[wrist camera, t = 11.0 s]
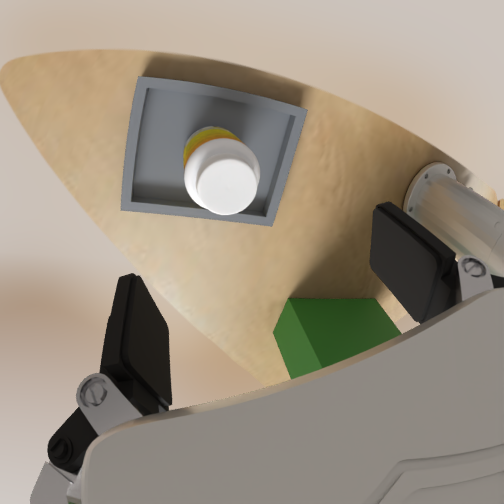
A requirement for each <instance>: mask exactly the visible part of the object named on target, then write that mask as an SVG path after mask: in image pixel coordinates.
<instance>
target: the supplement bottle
mask: <svg viewBox="0 0 504 504" xmlns="http://www.w3.org/2000/svg"><path fill="white" fill-rule="evenodd" d="M183 166H184V181H185V186H186V189H187V191H188V193H189V195H190V197H191V198H192V199H193V200H194V201H195V202H196V203H197V204H198V205H200V206H202V207H204V208H206V209H208V210H209V211H211V212H213V213H216V214H220V215H231V214H235V213H238V212H240V211H242V210H244V209H245V208H246V207H247V206H248V205H249V204H250V203H251V202H252V201H253V199H254V197H255V195H256V192H257V186H258V184H259V179H260V167H259V163H258V160H257V158H256V156H255V155H254V153H253V152H252V151H251V150H250V149H249V148H248V147H247V146H246V145H245V144H244V143H243V142H242V141H241V140H240V139H239V138H237V137H236V136H235V135H234V134H233V133H232V132H230V131H229V130H227V129H225V128H222V127H218V126H209V127H204V128H202V129H199V130H198V131H196V132H195V133H193V134H192V135H191V136H190V138H189V139H188V140H187V142H186V144H185V147H184V151H183Z"/></svg>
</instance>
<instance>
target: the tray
mask: <svg viewBox="0 0 504 504" xmlns="http://www.w3.org/2000/svg"><path fill="white" fill-rule="evenodd" d="M307 111H308V110H307V109H304V108H301V107H297V106H294V105H291V104H287V103H284V102H280V101H277V100H273V99H270V98H266V97H262V96H258V95H254V94H250V93H246V92H241V91H237V90H232V89H227V88H222V87H217V86H211V85H206V84H200V83H193V82H187V81H179V80H171V79H162V78H152V77H140V76H138V79H137V84H136V89H135V94H134V99H133V104H132V110H131V116H130V122H129V128H128V135H127V143H126V151H125V160H124V169H123V181H122V195H121V210H122V211H133V212H144V213H155V214H165V215H175V216H185V217H194V218H204V219H213V220H222V221H230V222H239V223H247V224H256V225H264V226H273V223H274V219H275V216H276V213H277V210H278V206H279V203H280V200H281V197H282V193H283V190H284V187H285V184H286V180H287V177H288V174H289V171H290V167H291V164H292V161H293V157H294V154H295V151H296V147H297V144H298V141H299V137H300V134H301V131H302V127H303V124H304V121H305V117H306V114H307ZM209 126H218V127H222V128H225V129H227V130H229V131H230V132H232V133H233V134H234V135H235V136H236V137H237V138H239V139H240V140H241V141H242V142H243V143H244V144H245V145H246V146H247V147H248V148H249V149H250V150H251V151H252V152H253V153H254V155H255V156H256V158H257V160H258V163H259V167H260V179H259V184H258V186H257V192H256V195H255V197H254V199H253V201H252V202H251V203H250V204H249V205H248V206H247V207H246V208H245V209H244V210H242V211H240V212H238V213H235V214H231V215H220V214H216V213H213V212H211V211H209V210H208V209H206V208H204V207H202V206H200V205H198V204H197V203H196V202H195V201H194V200H193V199H192V198H191V197H190V195H189V193H188V191H187V189H186V186H185V181H184V166H183V151H184V147H185V144H186V142H187V140H188V139H189V138H190V136H191V135H192V134H193V133H195V132H196V131H198V130H199V129H202V128H204V127H209Z"/></svg>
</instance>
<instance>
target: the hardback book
mask: <svg viewBox="0 0 504 504" xmlns="http://www.w3.org/2000/svg"><path fill="white" fill-rule="evenodd" d="M273 334H274V337H275V339H276V342H277V344H278V347H279V349H280V352H281V354H282V357H283V360H284V362H285V365H286V367H287V370H288V372H289V375H290V377H291V379H294V378H297V377H300V376H303V375H306V374H309V373H312V372H314V371H317V370H320V369H322V368H325V367H328V366H330V365H333V364H336V363H338V362H341V361H343V360H346V359H348V358H350V357H353V356H355V355H358V354H360V353H362V352H365V351H367V350H369V349H371V348H374V347H376V346H378V345H380V344H382V343H384V342H387V341H389V340H391V339H393V338H395V337H397V336H399V335H401V332H400V331H399V330H398V328H397V327H396V326H395V324H394V323H393V321H392V320H391V319H390V317H389V316H388V315H387V314H386V312H385V311H384V310H383V308H382V307H381V306H380V304H379V303H378V302H377V301H376V299H375V298H374V299H305V298H288V300H287V302H286V304H285V306H284V309H283V311H282V313H281V316H280V318H279V320H278V322H277V325H276V327H275V329H274V331H273Z"/></svg>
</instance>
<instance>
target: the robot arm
mask: <svg viewBox="0 0 504 504" xmlns="http://www.w3.org/2000/svg"><path fill="white" fill-rule="evenodd" d="M455 257H456V258H457V259H458V262H457V261H456V260H455ZM370 266H371V269H372V270H373V271H374V272H375V273H376V275H377V276H378V277H379V278H380V279H381V280H382V282H383V283H384V284H385V285H386V286H387V287H388V289H389V290H390V291H391V292H392V293H393V295H394V296H395V297H396V298H397V299H398V301H399V302H400V303H401V304H402V306H403V307H404V308H405V309H406V311H407V312H408V313H409V314H410V316H411V317H412V318H413V319H414V320H415V321H416V322H419V323H420V324H421V325H419V326H417V327H415V328H413V329H411V330H409V331H407V332H405V333H403V334H401V335H399V336H397V337H395V338H393V339H391V340H389V341H387V342H384V343H382V344H380V345H378V346H376V347H374V348H371V349H369V350H367V351H365V352H362V353H360V354H358V355H355V356H353V357H350V358H348V359H346V360H343V361H341V362H338V363H336V364H333V365H330V366H328V367H325V368H322V369H320V370H317V371H314V372H312V373H309V374H306V375H303V376H300V377H297V378H294V379H291V380H288V381H285V382H282V383H279V384H276V385H272V386H269V387H266V388H262V389H259V390H256V391H252V392H248V393H244V394H241V395H237V396H234V397H229V398H225V399H221V400H216V401H212V402H208V403H204V404H199V405H195V406H190V407H185V408H180V409H175V410H170V411H169V406H170V405H172V392H171V377H170V355H169V330H168V326H167V323H166V321H165V320H164V318H163V316H162V315H161V313H160V311H159V309H158V308H157V306H156V304H155V302H154V300H153V299H152V297H151V295H150V293H149V292H148V289H147V288H146V286H145V284H144V282H143V280H142V278H141V277H140V276H136V275H135V274H133V273H131V274H128V275H125V276H121V277H119V280H118V283H117V288H116V292H115V296H114V301H113V306H112V311H111V316H109V319H108V323H107V329H106V334H105V339H104V345H103V352H102V359H101V365H100V373H95V374H92V375H89V376H88V377H86V378H85V379H84V380H83V381H82V382H81V383H80V385H79V387H78V389H77V394H76V399H77V403H78V405H79V407H78V408H77V409H76V410H75V412H74V413H73V414H72V415H71V416H70V417H69V418H68V419H67V420H66V421H65V423H64V424H63V425H62V426H61V427H60V428H59V429H58V430H57V431H56V432H55V434H54V435H53V436H52V437H51V439H50V440H49V443H48V457H49V459H50V462H49V463H48V462H45V464H44V466H43V468H42V470H41V473H40V475H39V477H38V480H37V482H36V484H35V487H34V489H33V492H32V494H31V498H30V504H504V210H502V209H501V208H499V207H498V206H496V205H495V204H493V203H492V202H490V201H489V200H487V199H486V198H484V197H483V196H481V195H479V194H478V193H476V192H474V191H473V189H472V188H471V187H469V188H468V187H466V186H464V185H463V184H461V183H459V182H457V179H456V175H455V173H454V171H453V170H452V168H451V167H449V166H448V165H446V164H444V163H442V162H434V163H431V164H428V165H427V166H425V167H424V168H423V169H421V171H420V172H419V173H418V174H417V175H416V176H415V178H414V179H413V181H412V182H411V184H410V186H409V188H408V191H407V193H406V197H405V200H404V206H403V210H401V209H400V208H398V207H397V206H396V205H394V204H393V203H391V202H385V203H381V204H378V205H377V206H376V208H375V209H374V211H373V222H372V238H371V250H370Z"/></svg>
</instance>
